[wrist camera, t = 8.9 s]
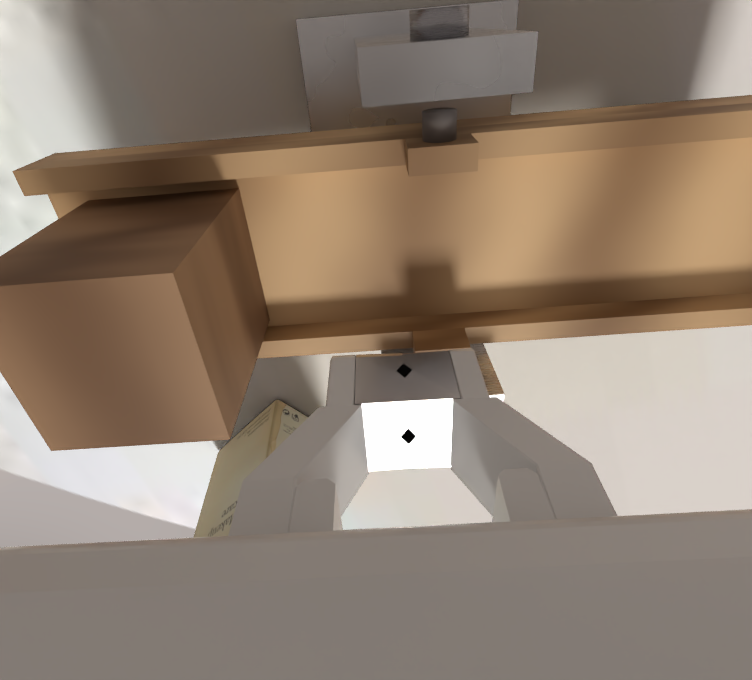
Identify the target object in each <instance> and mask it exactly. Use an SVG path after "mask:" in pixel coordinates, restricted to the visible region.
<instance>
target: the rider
mask: <svg viewBox="0 0 752 680" xmlns="http://www.w3.org/2000/svg"><path fill="white" fill-rule="evenodd" d="M269 321H270V318H269V314H268V310H267V305H266V301H265V297H264V293H263V288H262V284H261V280H260V276H259V271H258V267H257V263H256V258H255V254H254V250H253V246H252V241H251V237H250V233H249V229H248V224H247V220H246V216H245V211H244V207H243V203H242V199H241V194H240V190H239V188H234V189H222V190H209V191H197V192H185V193H173V194H160V195H148V196H136V197H124V198H111V199H99V200H88V201H86V202H85V203H83V204H81V205H80V206H78V207H77V208H75V209H74V210H72V211H71V212H69V213H67V214H66V215H64V216H63V217H61V218H60V219H58V220H57V221H55V222H53V223H52V224H50V225H49V226H47V227H46V228H44V229H42V230H41V231H39V232H38V233H36V234H35V235H33V236H32V237H30V238H28V239H27V240H25V241H24V242H22V243H21V244H19V245H17V246H16V247H14V248H13V249H11V250H10V251H8V252H7V253H5V254H3V255H2V256H0V372H1V373H2V375H3V377H4V378H5V380H6V381H7V383H8V384H9V386H10V387H11V389H12V391H13V392H14V394H15V395H16V397H17V398H18V400H19V401H20V403H21V405H22V406H23V408H24V409H25V411H26V412H27V414H28V415H29V417H30V419H31V420H32V422H33V423H34V425H35V426H36V428H37V429H38V431H39V433H40V434H41V436H42V437H43V439H44V440H45V442H46V443H47V445H48V447H49V448H50V450H51V451H56V450H72V449H88V448H103V447H119V446H135V445H151V444H166V443H182V442H198V441H214V440H230V438H231V435H232V432H233V429H234V426H235V423H236V420H237V417H238V414H239V411H240V408H241V405H242V402H243V399H244V396H245V393H246V390H247V387H248V384H249V381H250V378H251V375H252V372H253V369H254V366H255V363H256V360H257V357H258V354H259V351H260V348H261V345H262V342H263V339H264V336H265V333H266V330H267V327H268V324H269Z"/></svg>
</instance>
